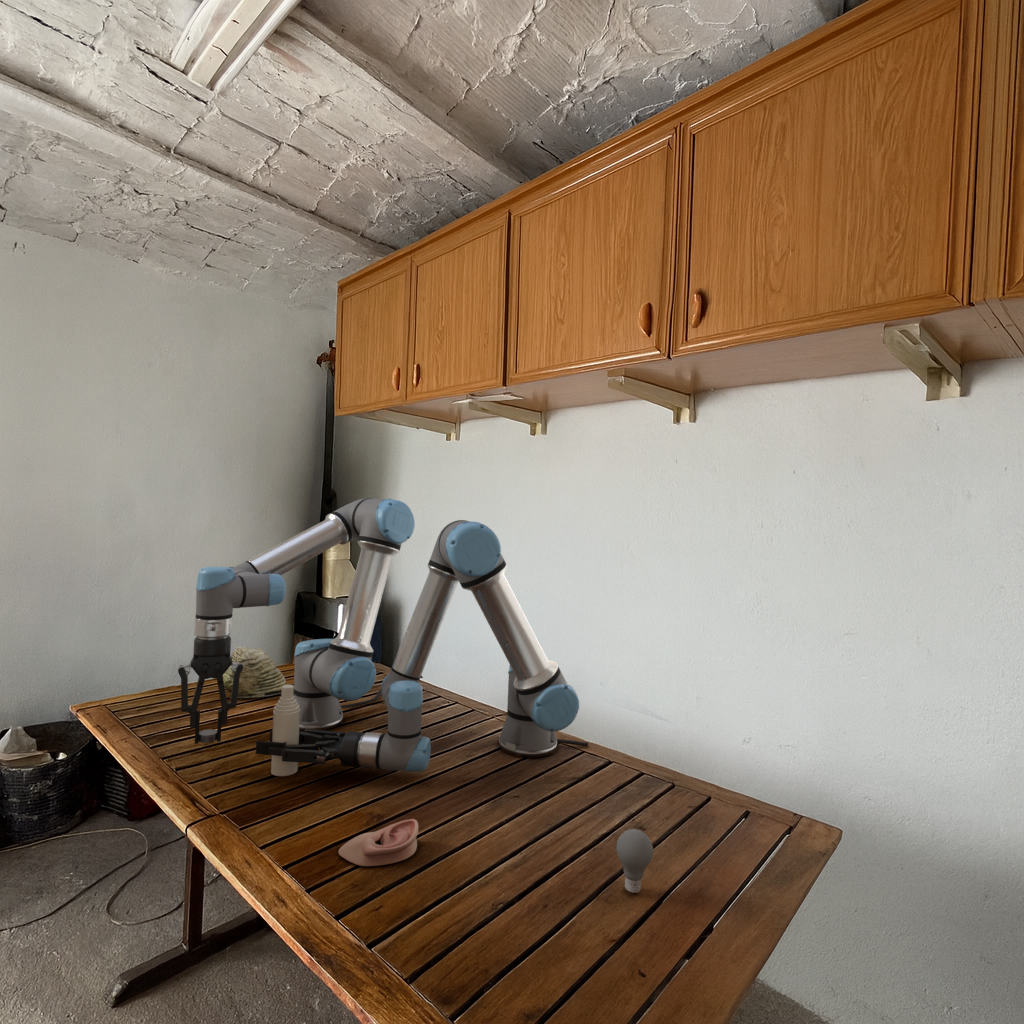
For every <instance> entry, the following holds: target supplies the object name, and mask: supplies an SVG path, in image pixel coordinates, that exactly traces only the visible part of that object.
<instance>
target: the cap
mask: <svg viewBox="0 0 1024 1024" xmlns="http://www.w3.org/2000/svg"><path fill="white" fill-rule="evenodd" d="M214 742H217V729H212V728H211V729H209V728H208V729H203V730H201V731H199V742H198V743H201V744H209V743H214Z"/></svg>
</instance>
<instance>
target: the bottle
mask: <svg viewBox="0 0 1024 1024" xmlns="http://www.w3.org/2000/svg"><path fill="white" fill-rule="evenodd" d="M299 727H300V708H299V705H298V702H296V699H295V697H294V684H286V685H283V686H282V688H281V693H280V697H279V699H278V700H277V703H276V704H275V706H274V707H273V710H272V730H273V731H272V742H280V743H284V742H286V745H299V732H300V731H299ZM270 758H271V759H270V761H271V762H270V774H271V775H273V776H276V777H288V776H291V775H294V774H296V773H297V772H298V770H299V762H284V761H282V756H275V755H271V757H270Z"/></svg>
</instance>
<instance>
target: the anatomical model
mask: <svg viewBox="0 0 1024 1024" xmlns="http://www.w3.org/2000/svg"><path fill="white" fill-rule="evenodd" d="M418 834H419V822H418V820H417V819H415V818H410V819H409V818H408V819H403V820H401V821H398V822H394V823H391V824H390V825H387V826H385V827H383V828H380V829H377V830H375V831H369V832H365V833H362V834H359V835H357V836H355V837H353V838H351V839H350V840H348V841H347V842H346V843H344V844H343V845H342V846H341V847H340V848H339V849H338V852H337V853H338V855H339V856H340V857H341V858H343V859H344V860H346V861H347V862H349V863H352V864H354V865H356V866H359V867H376V866H384V865H391V864H395V863H398V862H402V861H404V860H407V859H408V858H410V857H411V856H413V855H414V854H415V853H416V851H417V849H418V839H417V836H418Z"/></svg>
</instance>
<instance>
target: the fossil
mask: <svg viewBox="0 0 1024 1024" xmlns="http://www.w3.org/2000/svg"><path fill="white" fill-rule="evenodd" d="M230 656H231V658H232V661H235V662H238V663H239V662H242V663H243V670H242V672H241V674H240V678H239V687H238V697H237V699H250V698H264V697H271V696H275V695H281V688H282V686H283V685H287V680H286V678H285V676H284V674H283V673H282V672H281V669H279V668H278V667H277V665H276V663H275V662H274V660H273V659H272V658H271V657H270V656H269V655H268V654H267V653H266V652H265V650H264V649H263V648H260V647H258V648H251V647H247V646H246V647H245V646H238V647H237V648H236V649H235V650H233V651H232V653H231V654H230ZM233 675H234V672H233V671H232V666H230V667H229V668H228V669H227V671H226V672H225V673H224V674H223V680H224V686H225V690H226V691H228V693H229V698H230V699H231V694H232V685H233Z"/></svg>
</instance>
